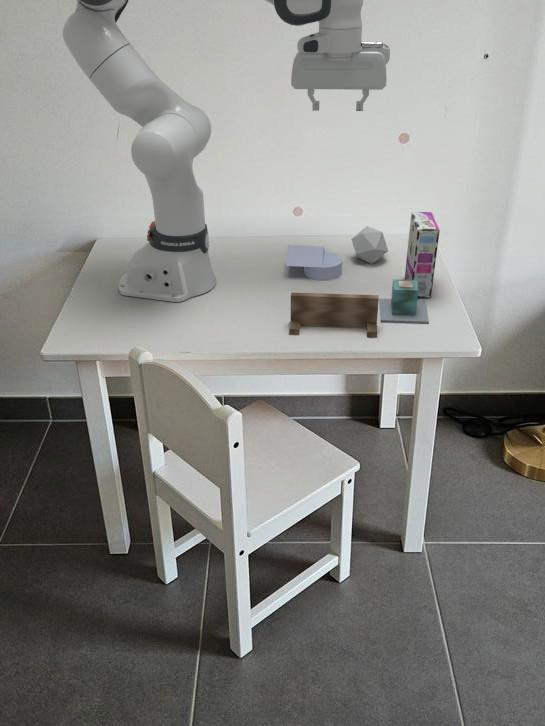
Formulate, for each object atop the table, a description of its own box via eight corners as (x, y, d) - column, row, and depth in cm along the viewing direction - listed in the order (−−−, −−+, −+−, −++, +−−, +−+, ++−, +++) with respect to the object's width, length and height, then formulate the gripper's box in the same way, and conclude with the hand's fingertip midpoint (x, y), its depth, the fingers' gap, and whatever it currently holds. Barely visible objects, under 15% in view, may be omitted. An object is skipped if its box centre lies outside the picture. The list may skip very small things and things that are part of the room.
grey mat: (380, 322, 155) (381, 320, 155) (379, 300, 164) (379, 298, 163) (428, 323, 154) (428, 321, 154) (424, 301, 163) (425, 299, 163)
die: (393, 263, 182) (388, 225, 183) (381, 258, 174) (376, 218, 175) (362, 269, 186) (358, 232, 186) (350, 265, 178) (345, 226, 179)
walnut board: (289, 334, 151) (289, 304, 148) (291, 321, 156) (291, 292, 152) (376, 337, 150) (379, 307, 146) (376, 324, 154) (378, 295, 151)
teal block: (392, 314, 157) (394, 288, 154) (391, 304, 161) (393, 278, 158) (415, 315, 156) (418, 289, 153) (414, 304, 161) (416, 279, 157)
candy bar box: (432, 298, 164) (440, 229, 155) (410, 298, 164) (416, 229, 155) (425, 277, 173) (432, 210, 165) (404, 277, 174) (410, 210, 165)
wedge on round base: (285, 278, 174) (340, 281, 172) (285, 252, 170) (341, 255, 169) (290, 262, 181) (342, 265, 180) (290, 237, 178) (343, 239, 176)
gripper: (389, 39, 153) (385, 107, 161) (292, 39, 155) (292, 106, 163) (391, 44, 148) (386, 114, 155) (290, 44, 150) (290, 113, 157)
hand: (337, 110), depth 159 cm, fingers open, 8 cm apart
